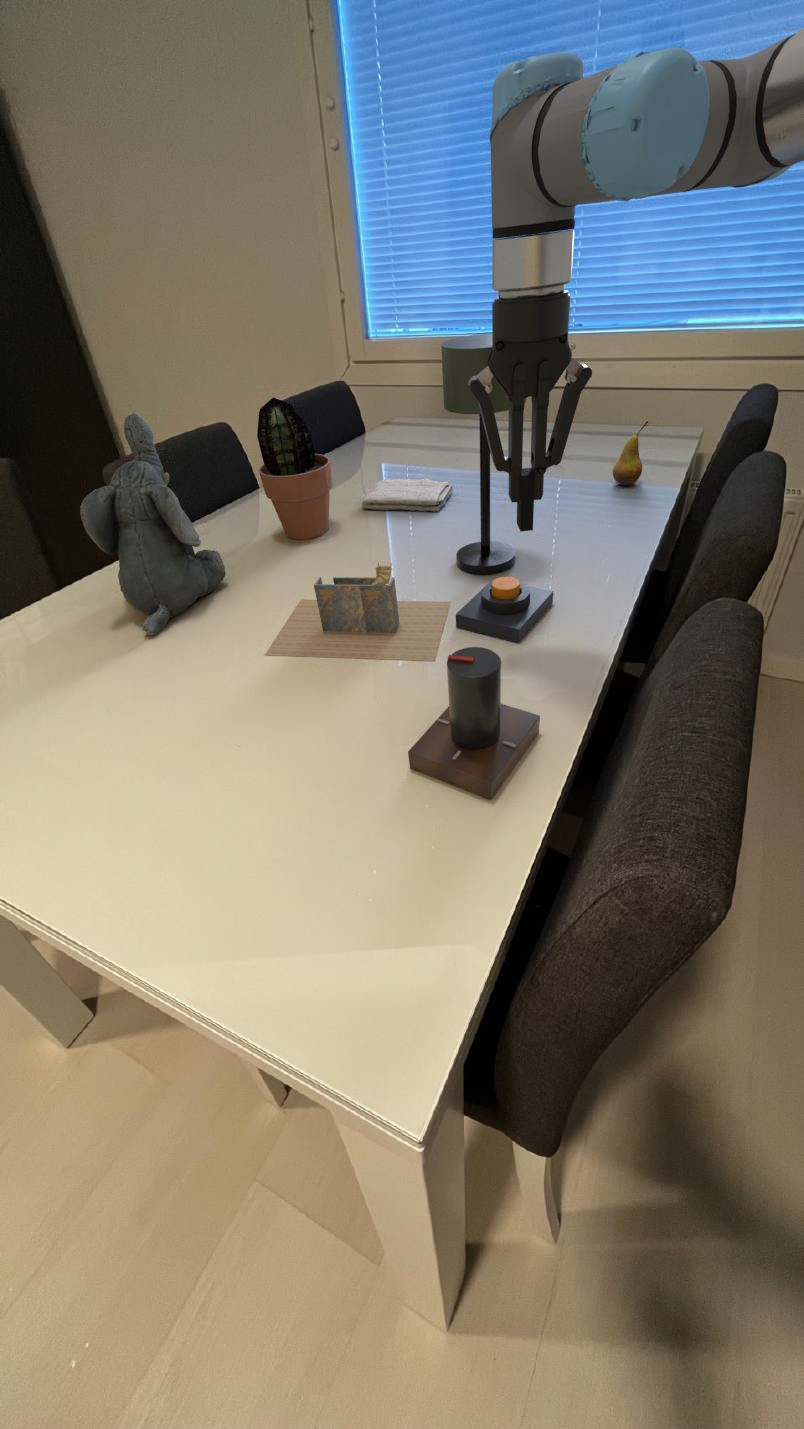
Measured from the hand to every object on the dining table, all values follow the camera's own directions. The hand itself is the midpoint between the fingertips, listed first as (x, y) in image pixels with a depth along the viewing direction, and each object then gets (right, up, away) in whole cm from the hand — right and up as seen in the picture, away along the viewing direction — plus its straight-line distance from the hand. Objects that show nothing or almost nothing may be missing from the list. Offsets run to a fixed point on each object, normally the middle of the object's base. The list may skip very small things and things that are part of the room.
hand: (524, 526), depth 73 cm
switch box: (0, -8, +17) cm, 18 cm away
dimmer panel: (-7, -27, -5) cm, 28 cm away
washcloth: (-14, +23, +57) cm, 63 cm away
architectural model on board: (-21, -10, +18) cm, 29 cm away
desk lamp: (0, +4, +31) cm, 31 cm away
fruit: (+32, +25, +53) cm, 67 cm away
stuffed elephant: (-54, -3, +31) cm, 63 cm away
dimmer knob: (-7, -25, -7) cm, 27 cm away
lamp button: (0, -5, +14) cm, 15 cm away
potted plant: (-34, +14, +50) cm, 62 cm away
